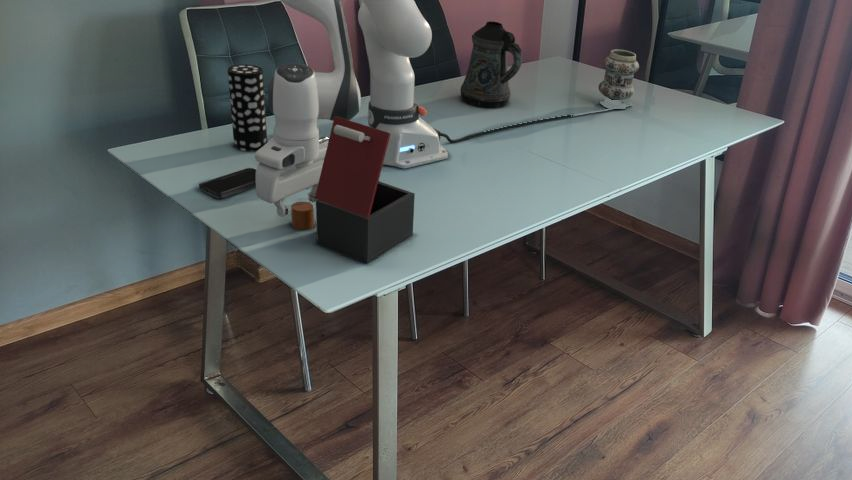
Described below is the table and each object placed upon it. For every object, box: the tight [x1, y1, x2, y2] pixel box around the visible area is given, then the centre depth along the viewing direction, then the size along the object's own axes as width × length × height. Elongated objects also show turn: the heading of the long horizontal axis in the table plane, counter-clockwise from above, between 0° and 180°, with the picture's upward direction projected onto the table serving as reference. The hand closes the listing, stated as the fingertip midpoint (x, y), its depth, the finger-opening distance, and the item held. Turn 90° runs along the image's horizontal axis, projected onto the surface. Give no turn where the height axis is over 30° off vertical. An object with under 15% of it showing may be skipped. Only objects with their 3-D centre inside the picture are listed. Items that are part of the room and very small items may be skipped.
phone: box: [198, 167, 256, 200], centre depth 177 cm, size 8×1×15 cm
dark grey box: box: [315, 180, 416, 265], centre depth 158 cm, size 16×13×10 cm
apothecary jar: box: [598, 48, 640, 101], centre depth 254 cm, size 12×12×18 cm
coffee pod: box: [290, 201, 315, 231], centre depth 163 cm, size 5×5×4 cm
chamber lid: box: [315, 116, 391, 218], centre depth 146 cm, size 17×13×5 cm
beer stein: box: [460, 21, 524, 109], centre depth 243 cm, size 16×19×25 cm
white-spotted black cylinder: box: [227, 63, 268, 152], centre depth 193 cm, size 8×8×20 cm
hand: (298, 207), depth 162 cm, fingers open, 8 cm apart
